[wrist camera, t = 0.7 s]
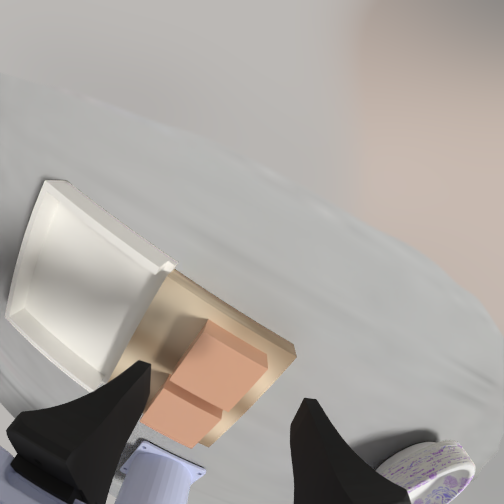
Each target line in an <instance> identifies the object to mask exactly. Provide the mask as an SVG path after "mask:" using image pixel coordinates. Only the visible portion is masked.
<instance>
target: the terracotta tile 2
mask: <svg viewBox="0 0 504 504" xmlns="http://www.w3.org/2000/svg"><path fill="white" fill-rule="evenodd" d="M267 370H268V362H267V354H266V353H264V352H262V351H260V350H259V349H257V348H255V347H253V346H252V345H250V344H248V343H247V342H245V341H243V340H242V339H240V338H238V337H237V336H235V335H233V334H232V333H230V332H228V331H227V330H225V329H223V328H222V327H220V326H219V325H217V324H215V323H214V322H212V321H211V320H209V319H208V320H207V322H206V323H205V324H204V326H203V327H202V329H201V330H200V331H199V333H198V334H197V336H196V337H195V339H194V340H193V341H192V343H191V344H190V346H189V347H188V349H187V350H186V351H185V353H184V354H183V356H182V357H181V358H180V360H179V361H178V363H177V364H176V366H175V368H174V370H173V372H172V375H171V377H170V379H169V380H170V381H172V382H173V383H175V384H177V385H178V386H180V387H182V388H184V389H185V390H187V391H189V392H191V393H192V394H194V395H196V396H198V397H200V398H202V399H203V400H205V401H207V402H209V403H211V404H213V405H215V406H217V407H219V408H221V409H223V410H225V411H227V412H229V411H230V410H231V409H232V408H233V407H234V406H235V405H236V404H237V403H238V402H239V401H240V400H241V398H242V397H243V396H244V395H245V394H246V393H247V392H248V391H249V390H250V389H251V388H252V387H253V385H254V384H255V383H256V382H257V381H258V380H259V379H260V378H261V377H262V375H263V374H264V373H265V372H266V371H267Z"/></svg>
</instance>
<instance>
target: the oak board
mask: <svg viewBox="0 0 504 504" xmlns="http://www.w3.org/2000/svg"><path fill="white" fill-rule="evenodd" d="M208 319H209V320H211V321H212V322H214V323H215V324H217V325H219V326H220V327H222V328H223V329H225V330H227V331H228V332H230V333H232V334H233V335H235V336H237V337H238V338H240V339H242V340H243V341H245V342H247V343H248V344H250V345H252V346H253V347H255V348H257V349H259V350H260V351H262V352H264V353H266V354H267V362H268V370H267V371H266V372H265V373H264V374H263V375H262V377H261V378H260V379H259V380H258V381H257V382H256V383H255V384H254V385H253V387H252V388H251V389H250V390H249V391H248V392H247V393H246V394H245V395H244V396H243V397H242V398H241V400H240V401H239V402H238V403H237V404H236V405H235V406H234V407H233V408H232V409H231V410H230V411H229V412H227V411H225V410H223V411H222V419H221V420H220V421H219V422H218V423H217V424H216V425H215V426H214V427H213V428H212V429H211V430H210V431H209V432H208V433H207V434H206V435H205V436H204V437H203V438H202V439H201V440H200V441H199V442H198V443H200V444H202V445H205V446H207V447H210V446H211V445H212V444H213V443H214V442H215V441H216V440H217V439H218V438H219V437H221V436H222V435H223V434H224V433H225V432H226V431H227V430H228V429H229V428H230V427H231V426H232V425H233V424H234V423H235V422H236V421H237V420H238V419H239V418H240V417H241V416H242V415H243V414H244V413H245V412H246V411H247V410H248V409H249V408H250V407H251V406H252V405H253V404H254V403H255V402H256V401H257V400H258V399H259V398H260V397H261V396H262V395H263V394H264V393H265V392H266V391H267V389H268V388H269V387H270V386H271V385H272V384H273V383H274V382H275V381H276V380H277V379H278V378H279V376H280V375H281V374H282V373H283V372H284V371H285V370H286V369H287V368H288V366H289V365H290V364H291V363H292V362H293V361H294V360H295V358H296V357H297V356H296V352H295V348H294V344H292V343H290V342H289V341H287V340H285V339H284V338H282V337H280V336H279V335H277V334H275V333H274V332H272V331H270V330H269V329H267V328H265V327H264V326H262V325H260V324H259V323H257V322H256V321H254V320H252V319H251V318H249V317H247V316H246V315H244V314H243V313H241V312H239V311H238V310H236V309H235V308H233V307H232V306H230V305H228V304H227V303H225V302H224V301H222V300H221V299H219V298H218V297H216V296H214V295H213V294H211V293H210V292H208V291H207V290H205V289H204V288H202V287H201V286H199V285H198V284H196V283H195V282H193V281H192V280H190V279H189V278H187V277H186V276H184V275H183V274H181V273H180V272H178V271H177V270H175V269H174V270H173V271H172V272H171V273H170V274H169V275H167V277H166V278H165V280H164V282H163V283H162V285H161V287H160V289H159V290H158V292H157V294H156V295H155V297H154V299H153V300H152V302H151V304H150V306H149V307H148V309H147V311H146V313H145V314H144V316H143V318H142V320H141V321H140V323H139V325H138V327H137V328H136V330H135V332H134V334H133V336H132V338H131V339H130V341H129V343H128V345H127V347H126V349H125V350H124V352H123V354H122V356H121V358H120V360H119V362H118V363H117V365H116V367H115V369H114V371H113V373H112V375H111V377H110V379H109V381H108V382H110V381H111V380H112V379H114V378H115V377H117V376H118V375H120V374H121V373H122V372H124V371H125V370H126V369H128V368H129V367H130V366H131V365H133V364H134V363H135V362H136V361H138V360H141V361H144V362H147V363H150V364H151V381H150V395H149V398H148V400H147V403H146V406H145V408H144V411H145V409H146V407H147V405H148V404H149V402H150V401H151V400H152V398H153V397H154V395H155V394H156V393H157V391H158V390H159V388H160V387H161V385H162V384H163V383H164V381H165V380H166V378H167V377H168V376H169V374H171V375H172V372H173V370H174V368H175V366H176V364H177V363H178V361H179V360H180V358H181V357H182V356H183V354H184V353H185V351H186V350H187V349H188V347H189V346H190V344H191V343H192V341H193V340H194V339H195V337H196V336H197V334H198V333H199V331H200V330H201V329H202V327H203V326H204V324H205V323H206V322H207V320H208ZM144 411H143V413H144Z"/></svg>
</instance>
